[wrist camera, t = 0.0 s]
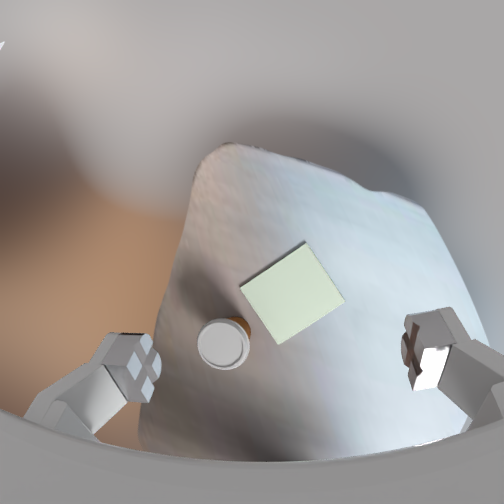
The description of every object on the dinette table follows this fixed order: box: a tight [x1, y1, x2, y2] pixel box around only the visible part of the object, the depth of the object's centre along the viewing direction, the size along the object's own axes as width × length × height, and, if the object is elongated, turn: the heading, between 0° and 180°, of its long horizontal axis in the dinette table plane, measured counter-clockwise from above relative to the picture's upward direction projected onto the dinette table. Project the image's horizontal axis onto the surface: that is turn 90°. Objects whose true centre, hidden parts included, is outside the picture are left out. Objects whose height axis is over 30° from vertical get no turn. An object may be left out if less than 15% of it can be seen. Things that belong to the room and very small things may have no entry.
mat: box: [240, 243, 345, 345], centre depth 63 cm, size 14×16×1 cm
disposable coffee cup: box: [197, 317, 251, 370], centre depth 59 cm, size 10×10×12 cm
